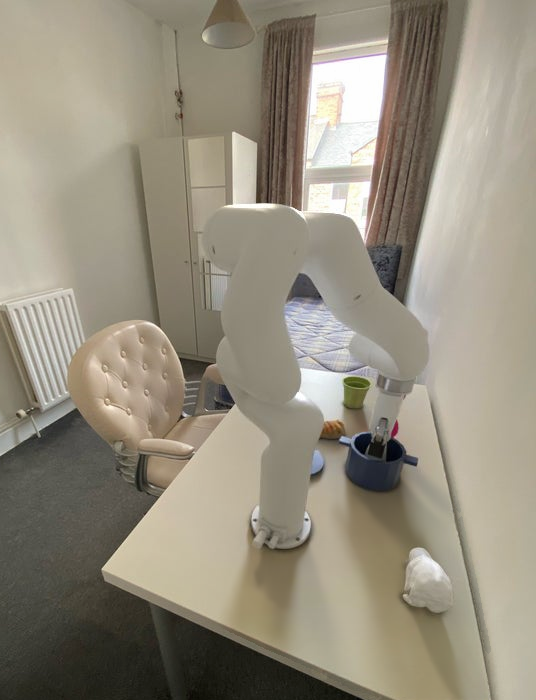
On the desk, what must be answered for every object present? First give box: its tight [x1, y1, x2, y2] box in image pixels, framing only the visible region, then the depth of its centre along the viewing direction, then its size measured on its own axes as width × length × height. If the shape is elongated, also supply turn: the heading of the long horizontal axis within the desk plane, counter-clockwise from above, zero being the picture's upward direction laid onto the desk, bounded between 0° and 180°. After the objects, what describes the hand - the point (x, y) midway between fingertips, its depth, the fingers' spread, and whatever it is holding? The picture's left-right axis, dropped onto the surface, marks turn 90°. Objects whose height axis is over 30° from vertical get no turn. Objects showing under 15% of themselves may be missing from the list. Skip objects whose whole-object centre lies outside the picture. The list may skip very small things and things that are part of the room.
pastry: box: [319, 419, 347, 440], centre depth 99 cm, size 9×7×4 cm
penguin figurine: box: [402, 546, 455, 614], centre depth 57 cm, size 6×8×12 cm
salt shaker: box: [364, 427, 391, 462], centre depth 82 cm, size 6×6×13 cm
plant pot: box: [341, 375, 373, 409], centre depth 113 cm, size 9×9×9 cm
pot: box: [338, 431, 419, 492], centre depth 83 cm, size 13×18×8 cm
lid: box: [310, 448, 325, 477], centre depth 88 cm, size 14×14×6 cm
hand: (378, 445), depth 81 cm, fingers open, 8 cm apart
